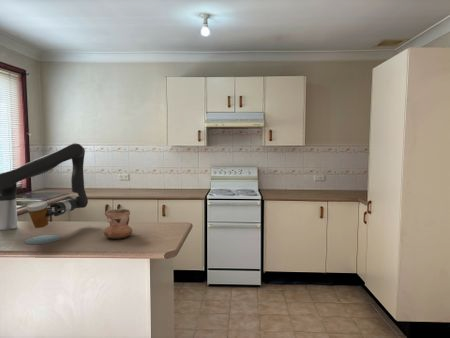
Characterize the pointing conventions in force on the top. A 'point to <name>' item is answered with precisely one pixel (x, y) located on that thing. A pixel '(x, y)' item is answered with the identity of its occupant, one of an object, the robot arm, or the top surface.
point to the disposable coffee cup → (38, 213)
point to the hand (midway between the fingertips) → (39, 214)
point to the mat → (42, 239)
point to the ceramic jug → (118, 224)
